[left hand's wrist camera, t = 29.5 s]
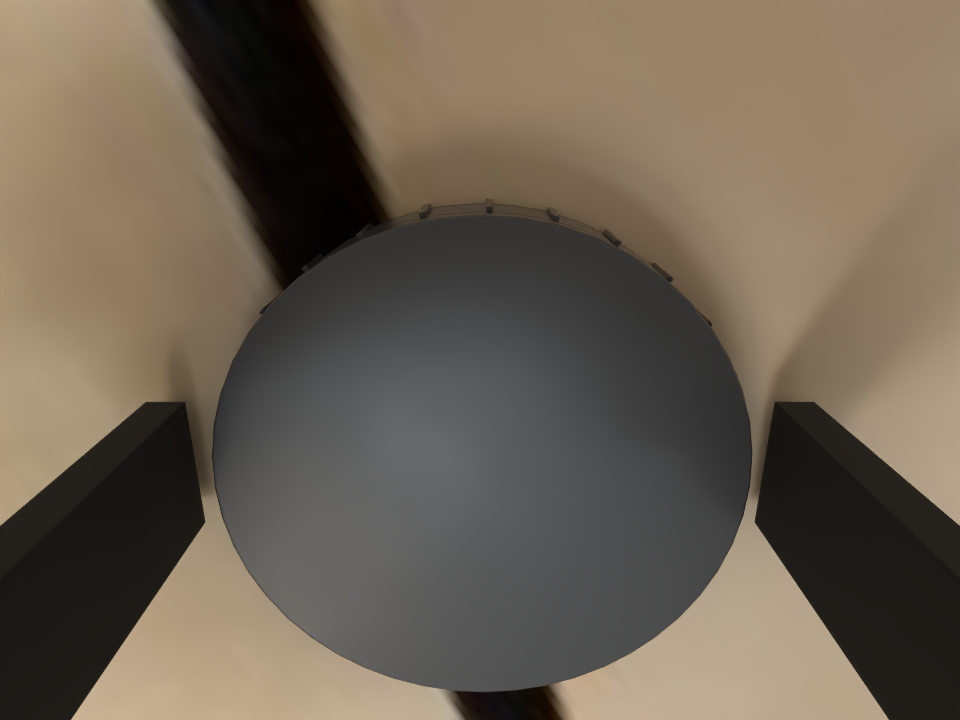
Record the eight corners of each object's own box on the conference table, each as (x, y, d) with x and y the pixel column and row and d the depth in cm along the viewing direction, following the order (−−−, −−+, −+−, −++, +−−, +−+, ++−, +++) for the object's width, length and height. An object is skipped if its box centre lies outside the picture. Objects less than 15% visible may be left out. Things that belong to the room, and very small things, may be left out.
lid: (799, 520, 14) (837, 568, 13) (409, 697, 16) (401, 758, 14) (584, 89, 11) (599, 84, 10) (138, 366, 13) (92, 398, 12)
